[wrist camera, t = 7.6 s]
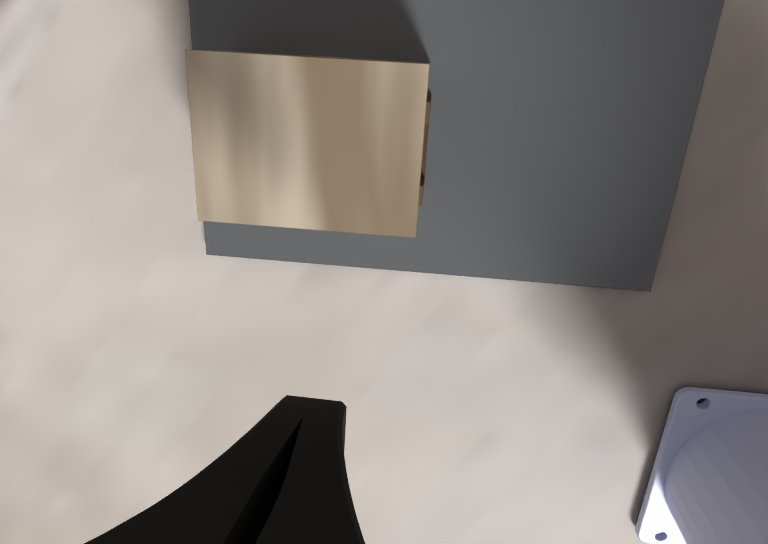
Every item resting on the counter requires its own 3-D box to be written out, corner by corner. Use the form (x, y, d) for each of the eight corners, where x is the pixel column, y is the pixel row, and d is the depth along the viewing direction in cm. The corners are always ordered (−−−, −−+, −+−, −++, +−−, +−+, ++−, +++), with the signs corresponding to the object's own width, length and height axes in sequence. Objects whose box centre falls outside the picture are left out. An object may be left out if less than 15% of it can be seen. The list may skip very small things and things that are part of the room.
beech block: (433, 64, 15) (185, 50, 16) (419, 237, 17) (197, 220, 17) (434, 62, 18) (228, 50, 19) (422, 208, 20) (235, 194, 21)
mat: (781, -252, 15) (790, -260, 15) (646, 287, 21) (650, 291, 21) (176, -265, 16) (170, -272, 16) (210, 251, 22) (206, 254, 22)
